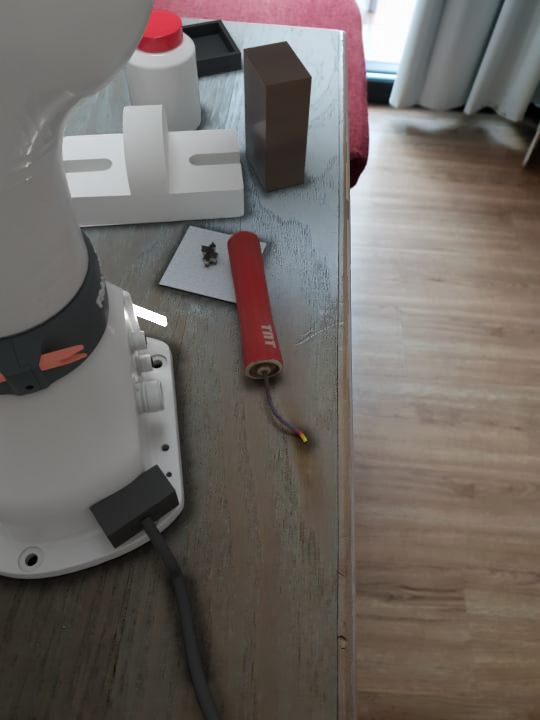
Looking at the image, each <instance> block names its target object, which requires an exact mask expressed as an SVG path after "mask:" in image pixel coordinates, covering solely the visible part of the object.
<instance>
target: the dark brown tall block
mask: <svg viewBox="0 0 540 720" xmlns="http://www.w3.org/2000/svg"><path fill="white" fill-rule="evenodd" d="M242 50H243V93H244V94H243V95H244V98H243V99H244V100H243V101H244V138H245V139H244V140H245V157H246V158H247V160H248V162H249V164H250V166H251V168H252V170H253V171H254V174H255V175H256V177H257V180H258V181H259V183H260V184H261V187H262V189H263V190H264V193H267V192H272V191H276V190H281V189H284V188H289V187H292V186H298V185H301V184H304V183H305V174H306V173H305V172H306V163H307V162H306V161H307V160H306V159H307V148H308V147H307V146H308V135H309V120H310V119H309V118H310V108H311V107H310V106H311V93H312V83H313V82H312V81H313V76H312V75H311V74H310V71H308V69H307V68H306V66H305V65H304V63H303V62H302V60H301V59H300V58H299V57H298V55H297V53H296V52H295V51H294V49H293V48H292V47H291V45H290V44H289V42H288V41H287V40H284V41H279V42H274V43H267V44H262V45H257V46H252V47H246V48H243V49H242Z"/></svg>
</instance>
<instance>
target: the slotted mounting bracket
mask: <svg viewBox="0 0 540 720" xmlns="http://www.w3.org/2000/svg"><path fill="white" fill-rule="evenodd" d="M239 146H240V145H239V138H238V131H237V130H236V129H235V128H217V129H216V128H215V129H199V130H198V129H196V130H194V131H175V132H168V127H167V120H166V114H165V109H164V106H163V105H142V106H131V105H124V107H123V111H122V132H121V133H120V132H119V133H101V134H81V135H66V136H64V137H63V144H62V156H63V165H64V169H65V174H66V178H67V182H68V186H69V190H70V194H71V197H72V201H73V205H74V208H75V212H76V215H77V219H78V222H79V225H80V228H85V227H87V228H88V227H102V226H103V227H104V226H115V225H133V224H148V223H149V224H151V223H165V222H167V223H168V222H179V221H180V222H181V221H195V220H197V221H198V220H213V219H228V218H229V219H230V218H241V217H243V216H244V215H245V191H244V190H245V189H244V178H243V177H244V176H243V171H242V163H241V160H240V147H239Z"/></svg>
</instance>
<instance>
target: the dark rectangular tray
mask: <svg viewBox="0 0 540 720" xmlns="http://www.w3.org/2000/svg"><path fill="white" fill-rule="evenodd" d="M182 28H183V32H184V33H185V34H186V35H188V36H189V37H190V38H191V39H192V40H193V42H194V45H195V49H196V61H197V72H198V78H201V77H207V76H212V75H217V74H222V73H227V72H228V73H229V72H232V71H237V70H242V52H241V50H240V49H239V47H238V44H236V42H235V40H234V39H233V36H231V34H230V32H229V30H228V29H227V27H226V25H225V24H224V22H223V20H222V19H220V18H219V19H214V20H209V21H204V22H199V23H191V24H186V25H182Z"/></svg>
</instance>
